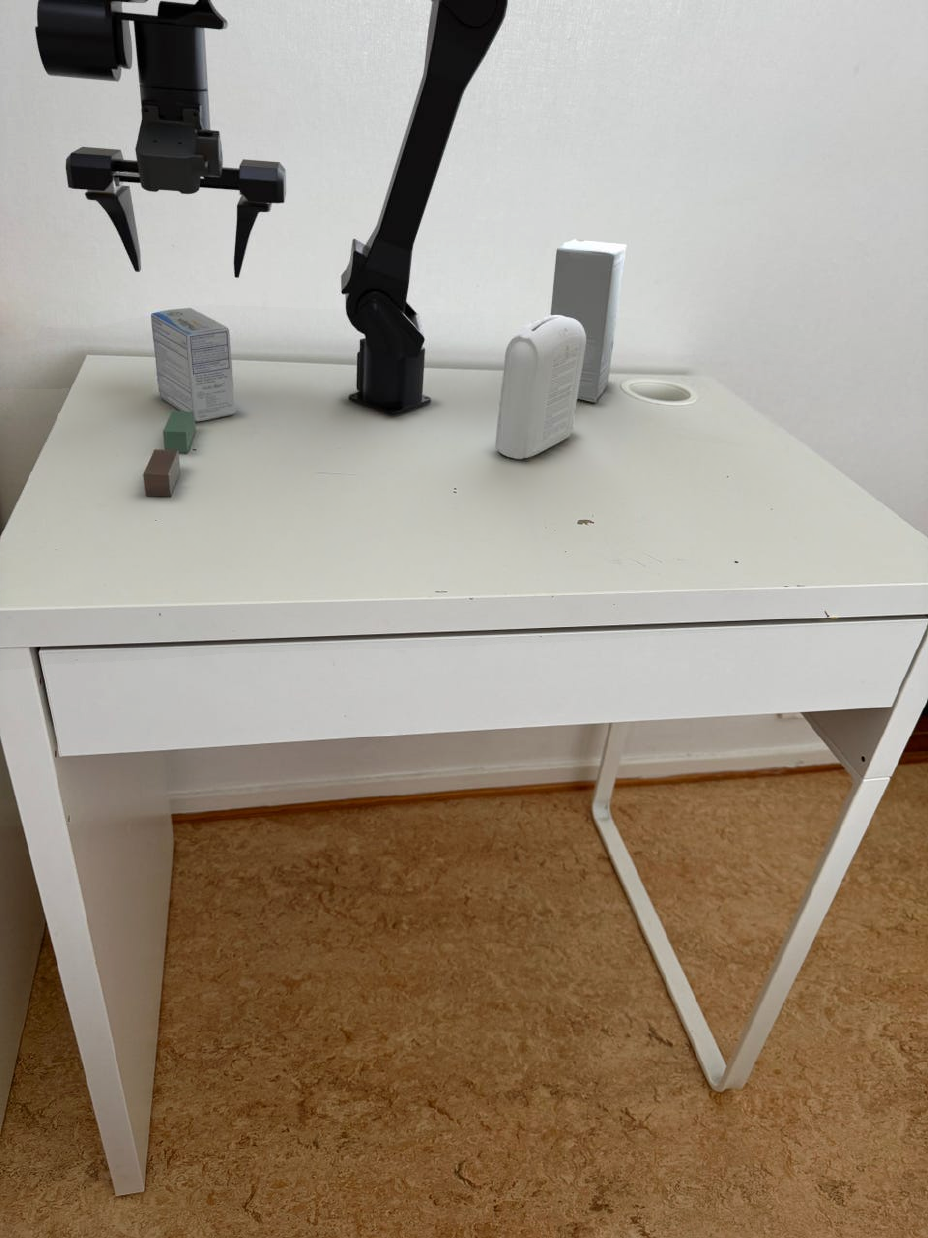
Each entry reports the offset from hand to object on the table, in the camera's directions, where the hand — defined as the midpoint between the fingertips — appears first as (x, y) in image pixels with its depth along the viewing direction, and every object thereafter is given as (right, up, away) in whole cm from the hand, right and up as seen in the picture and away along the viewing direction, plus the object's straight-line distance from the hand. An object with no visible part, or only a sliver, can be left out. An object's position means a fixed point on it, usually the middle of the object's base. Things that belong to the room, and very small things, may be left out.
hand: (188, 273), depth 88 cm
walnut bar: (+1, -22, -11) cm, 25 cm away
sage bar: (0, -17, -4) cm, 17 cm away
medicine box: (0, -12, +4) cm, 13 cm away
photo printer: (+33, -16, +3) cm, 37 cm away
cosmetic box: (+39, -7, +19) cm, 44 cm away
